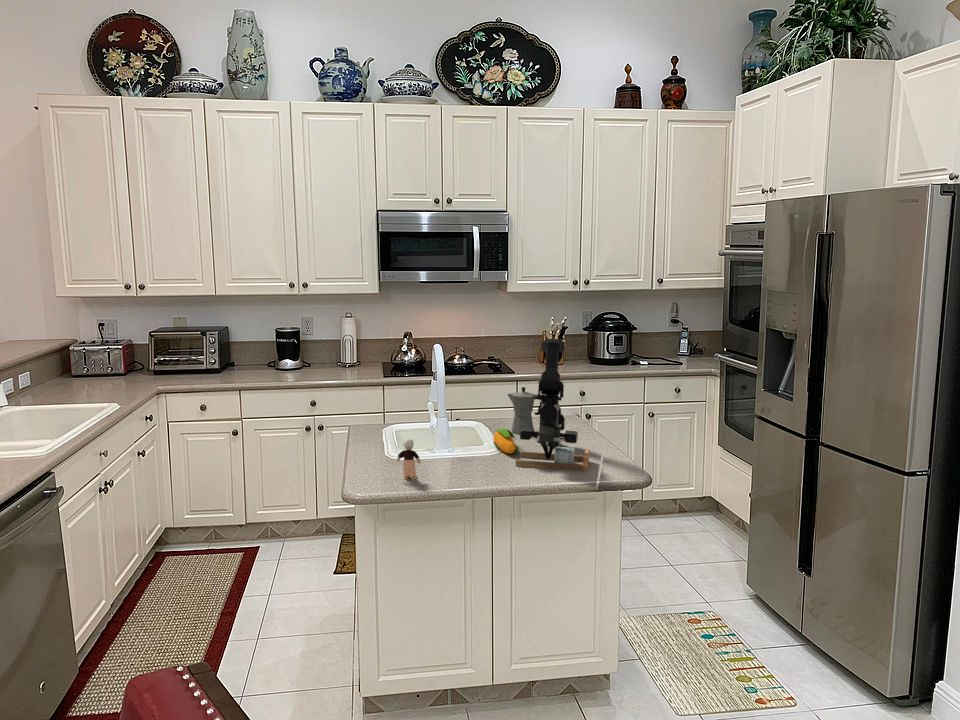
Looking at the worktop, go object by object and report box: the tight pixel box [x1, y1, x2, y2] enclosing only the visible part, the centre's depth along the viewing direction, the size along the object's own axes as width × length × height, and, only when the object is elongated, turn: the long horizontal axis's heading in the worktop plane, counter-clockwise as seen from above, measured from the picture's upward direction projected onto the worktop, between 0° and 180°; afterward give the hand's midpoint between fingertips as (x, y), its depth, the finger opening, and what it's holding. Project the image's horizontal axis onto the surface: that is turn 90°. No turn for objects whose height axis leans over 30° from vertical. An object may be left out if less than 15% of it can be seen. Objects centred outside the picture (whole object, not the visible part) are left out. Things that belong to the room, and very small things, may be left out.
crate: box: [553, 446, 575, 464], centre depth 238 cm, size 6×6×5 cm
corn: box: [493, 428, 519, 455], centre depth 254 cm, size 7×8×20 cm
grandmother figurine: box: [396, 438, 421, 481], centre depth 224 cm, size 8×4×13 cm, turn 92°
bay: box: [515, 448, 590, 472], centre depth 239 cm, size 11×23×5 cm, turn 78°
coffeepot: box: [507, 386, 542, 436], centre depth 281 cm, size 15×9×18 cm, turn 70°
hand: (548, 460), depth 239 cm, fingers closed
